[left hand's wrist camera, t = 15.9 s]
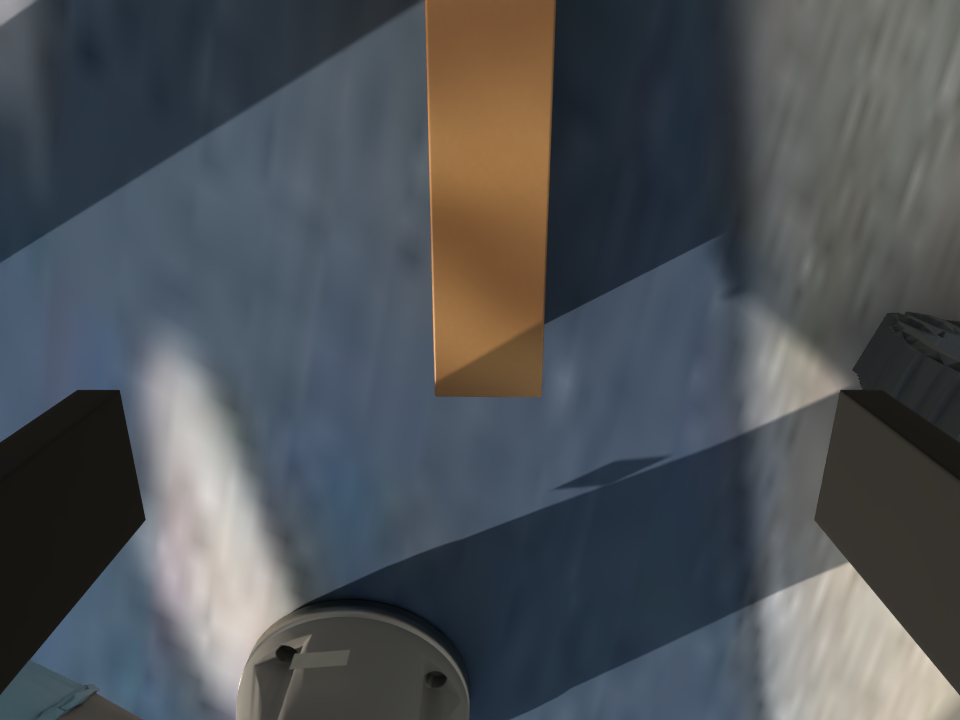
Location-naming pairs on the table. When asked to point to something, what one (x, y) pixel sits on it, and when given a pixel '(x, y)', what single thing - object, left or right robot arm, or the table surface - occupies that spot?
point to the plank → (489, 191)
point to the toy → (917, 366)
